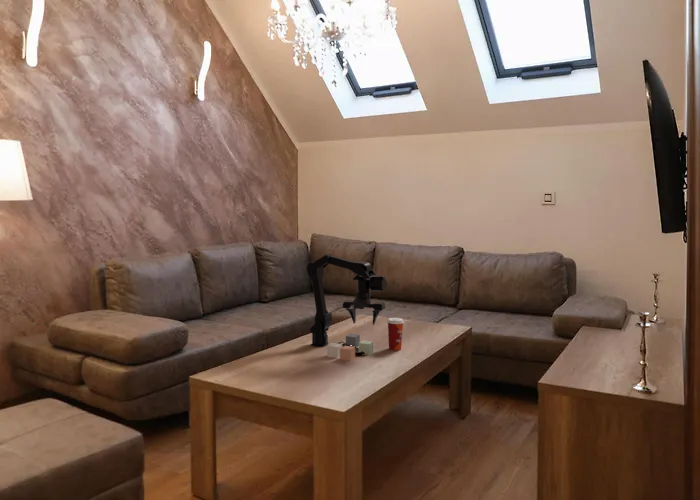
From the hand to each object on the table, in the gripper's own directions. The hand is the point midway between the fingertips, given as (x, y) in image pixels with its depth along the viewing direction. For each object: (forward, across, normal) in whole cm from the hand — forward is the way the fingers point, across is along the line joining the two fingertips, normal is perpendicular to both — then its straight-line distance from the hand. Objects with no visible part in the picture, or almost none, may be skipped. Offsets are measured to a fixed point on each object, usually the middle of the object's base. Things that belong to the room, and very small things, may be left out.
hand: (364, 324), depth 257 cm
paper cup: (+13, +12, +9) cm, 20 cm away
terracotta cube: (+13, -3, -14) cm, 19 cm away
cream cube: (+12, -10, -12) cm, 20 cm away
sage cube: (+13, +2, -2) cm, 13 cm away
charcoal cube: (+12, -8, +7) cm, 16 cm away
